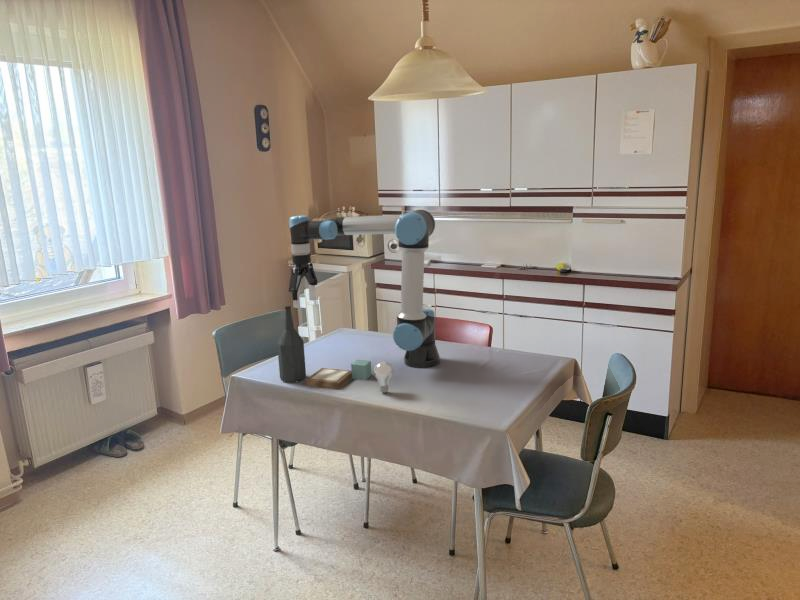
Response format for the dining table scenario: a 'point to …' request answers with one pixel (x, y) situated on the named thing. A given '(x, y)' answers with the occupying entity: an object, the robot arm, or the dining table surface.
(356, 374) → the cube
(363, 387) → the dining table surface
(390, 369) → the light bulb
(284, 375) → the bottle
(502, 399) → the dining table surface
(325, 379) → the picture frame
